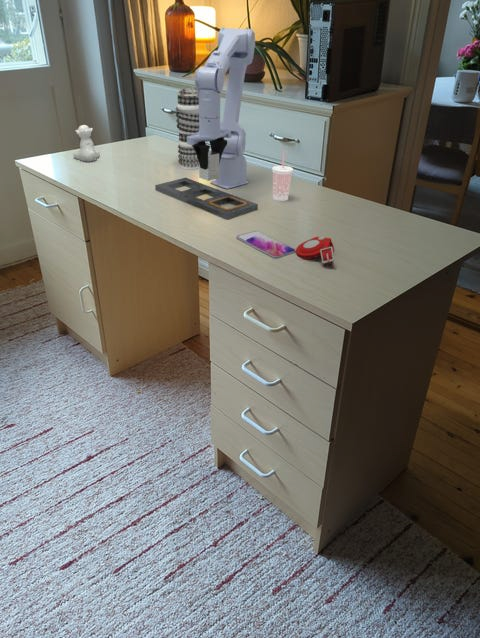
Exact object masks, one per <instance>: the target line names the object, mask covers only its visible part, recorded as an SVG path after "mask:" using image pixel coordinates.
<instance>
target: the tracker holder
mask: <svg viewBox="0 0 480 638" xmlns="http://www.w3.org/2000/svg"><path fill="white" fill-rule="evenodd" d="M295 250H296V252H295V253H296V255H297V257H299V258H300V257H301V259H315V258H317V257H320V258H321V263H322V265H325V266H327V265H331V264H333V263H334V262H335V255H334V252H335V247H334V243H333V241H332V238H330V237H325V236H314V237H312V238H310V239H308V240H306V241H303V242H302V243H300V244H298V246H297V247H296V249H295Z"/></svg>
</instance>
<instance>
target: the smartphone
mask: <svg viewBox="0 0 480 638" xmlns="http://www.w3.org/2000/svg"><path fill="white" fill-rule="evenodd" d="M235 238H236V240H238V241H239V242H242V243H243V244H245V245H248V246H249V247H252V248H253V249H255V250H257V251H259V252H261V254H262V253H263V254H264V255H266V256H268V257H270V258H272V259H275V260H276V259H280V258H283V257H286V256H289V255H292V254H294V253H296V249H295V248H293V247H291V246H289V245H287V244H284V243H283V242H281V241H279V240H277V239H275V238H273V237H270V236H269V235H266V234H265V233H262V232H261V231H258V230H253V231H249V232H246V233H242V234H238V235H237V236H236V237H235Z"/></svg>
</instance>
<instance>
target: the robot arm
mask: <svg viewBox="0 0 480 638" xmlns="http://www.w3.org/2000/svg"><path fill="white" fill-rule="evenodd" d="M217 46H218V48H217V50H214V51H212V53H211V54H210V56H209V57H208V58H207V60H206V62H205V64H204V65H203V66H200V67H199V68H197V69H196V71H195V75H194V86H195V87H194V88H196V90H197V98H199V131H198V133H196V134H194V135H191V136H187V144H189V145H192V147H193V148H194V150H195V152H196V154H197V157H198V160H199V164H200V168H202V169H204V170H206V169H207V162H208V152H209V150H210V151H213V152H216V153H219V178H218V179H214V180H210V184H212V185H215V186H217V187H220V188H223V189H225V190H229V189H232V188H235V187H239V186H242V185H247V184H248V183H249V181H248V180H247V166H248V164H247V159H246V157H245V155H244V154H245V150H246V135H247V134H246V130H245V129H244V128H243V126H241V125H240V124H239V120H240V114H241V113H240V112H241V104H242V99H243V98H242V97H243V89H244V82H245V75H246V71H247V67H248V66H249V65H251V64H253V59H254V54H255V47H256V34H255V31H254V29H252V28H248V29H247V28H233V27H232V28H231V27H230V28H229V27H220V30H219V31H218V36H217ZM228 70H229V71H228ZM227 72H228V77H227V78H228V79H227V85H226V93H225V101H224V108H223V109H224V110H223V114H222V115H223V116H222V121H221V92H222V91H223V89H224V84H225V81H226V78H225V76H226V73H227ZM207 142H209V145H208V144H207Z"/></svg>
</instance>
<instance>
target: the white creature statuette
mask: <svg viewBox="0 0 480 638" xmlns="http://www.w3.org/2000/svg"><path fill="white" fill-rule="evenodd" d="M93 129H94V128H93V127H90V126H88V125H86V124H82V125H79V126H78V128H77V129H75V130H74V131H75V132H76V134H77V135H78V137H79V138H80V141H79V147H80V149H79V151H78V150H76V151H74V152H73V153H72V155H73V157H74V159H75V160H78V161H82V162H87V163H89V162H95V161H96V160H98V158H99V157H100V154H101V152H100V151H99V150H98V149H95V146H94V145H95V144H94V142H93V140H92V138H91V135H92V132H93Z"/></svg>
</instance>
